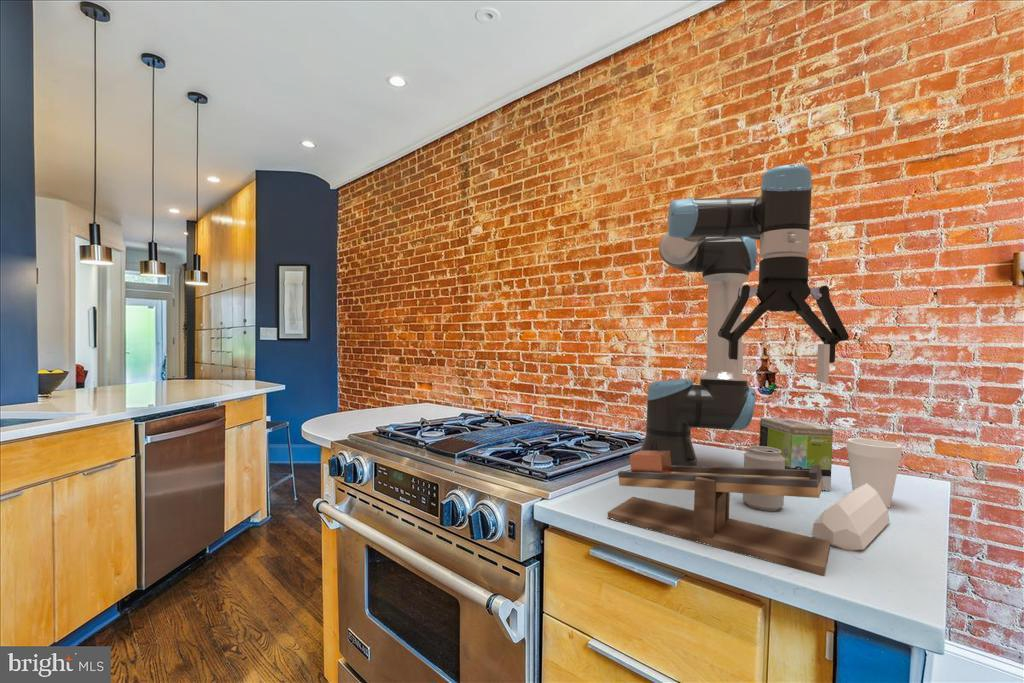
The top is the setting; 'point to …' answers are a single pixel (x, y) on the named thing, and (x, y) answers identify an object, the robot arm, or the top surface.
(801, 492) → the beam
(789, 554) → the stand
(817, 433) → the tea box
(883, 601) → the top surface
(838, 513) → the crystal
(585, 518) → the top surface
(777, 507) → the can
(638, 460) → the terracotta wooden block
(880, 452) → the foam cup
